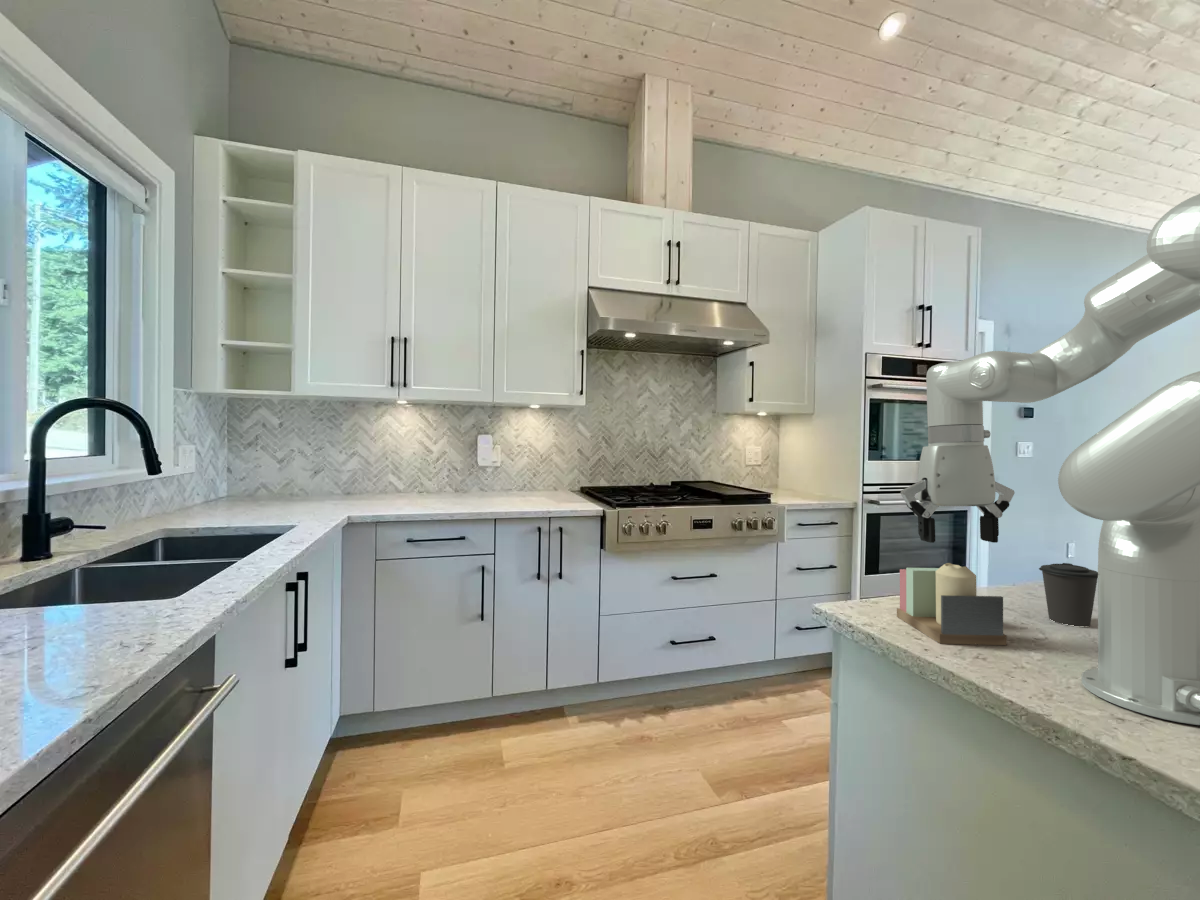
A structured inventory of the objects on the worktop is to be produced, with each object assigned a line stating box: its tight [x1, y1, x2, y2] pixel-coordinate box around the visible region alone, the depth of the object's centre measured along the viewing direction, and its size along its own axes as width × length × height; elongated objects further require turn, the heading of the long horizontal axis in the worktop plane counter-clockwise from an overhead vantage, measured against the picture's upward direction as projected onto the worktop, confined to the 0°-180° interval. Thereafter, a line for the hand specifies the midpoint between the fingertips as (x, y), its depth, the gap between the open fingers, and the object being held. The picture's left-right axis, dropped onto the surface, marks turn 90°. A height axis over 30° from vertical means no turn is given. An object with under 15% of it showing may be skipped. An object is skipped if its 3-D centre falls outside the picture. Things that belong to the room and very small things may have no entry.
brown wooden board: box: [896, 607, 1008, 646], centre depth 85 cm, size 13×10×2 cm
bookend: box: [941, 595, 1004, 636], centre depth 79 cm, size 1×9×6 cm, turn 87°
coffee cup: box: [1038, 562, 1098, 627], centre depth 89 cm, size 8×8×10 cm
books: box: [899, 567, 940, 617], centre depth 90 cm, size 4×9×8 cm, turn 86°
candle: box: [936, 562, 977, 625], centre depth 83 cm, size 6×6×10 cm
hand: (958, 541), depth 83 cm, fingers open, 9 cm apart
